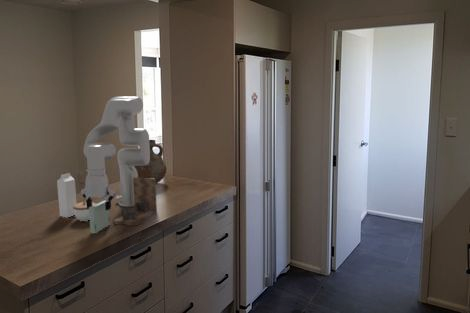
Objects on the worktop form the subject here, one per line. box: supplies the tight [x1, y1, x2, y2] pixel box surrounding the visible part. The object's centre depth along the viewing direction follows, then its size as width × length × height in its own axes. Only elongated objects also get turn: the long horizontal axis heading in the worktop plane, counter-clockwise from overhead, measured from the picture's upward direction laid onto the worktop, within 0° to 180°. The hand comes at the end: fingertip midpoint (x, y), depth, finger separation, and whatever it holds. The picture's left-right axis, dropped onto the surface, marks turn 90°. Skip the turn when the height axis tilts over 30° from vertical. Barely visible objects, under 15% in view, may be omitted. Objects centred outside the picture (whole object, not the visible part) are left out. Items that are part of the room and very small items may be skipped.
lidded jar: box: [73, 200, 97, 222], centre depth 200 cm, size 11×11×9 cm
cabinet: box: [113, 177, 158, 226], centre depth 202 cm, size 12×22×18 cm, turn 165°
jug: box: [134, 139, 167, 186], centre depth 271 cm, size 22×22×30 cm
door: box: [89, 199, 111, 234], centre depth 187 cm, size 2×12×12 cm, turn 165°
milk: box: [56, 172, 77, 218], centre depth 205 cm, size 6×6×22 cm
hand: (98, 208), depth 186 cm, fingers open, 9 cm apart
